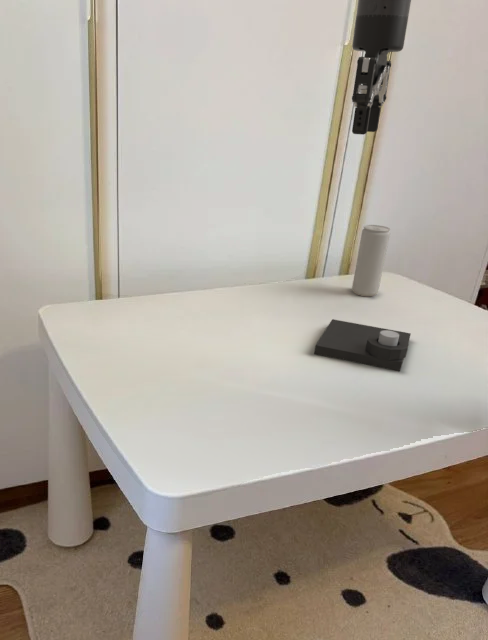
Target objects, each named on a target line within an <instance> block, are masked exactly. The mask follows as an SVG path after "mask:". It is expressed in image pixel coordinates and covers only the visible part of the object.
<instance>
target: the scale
mask: <svg viewBox="0 0 488 640" xmlns="http://www.w3.org/2000/svg"><path fill="white" fill-rule="evenodd" d="M383 330H389V331H394V332H396V333H398V334H399V339H398V344H397V346H386V345H382V344H380V343H378V340H379V335H380V332H381V331H383ZM410 339H411V333H410V332H405V331H401V330H400V331H399V330H394V329H390V328H389V329H388V328H383V327H378V326H373V325H367V324H361V323H356V322H350V321H344V320H339V319H334V318H333V319H331V321H330V322H329V323H328V325H327V327H326V328H325V330H324V331H323V333H322V334H321V336H320V337H319V339H318V341H317V342H316V343H315V346H314V353H313V354H314V355H317V356H322V357H327V358H332V359H337V360H340V361H341V360H342V361H347V362H351V363H357V364H362V365H367V366H372V367H375V368H382V369H387V370H392V371H397V372H401V369H402V367H403V363H404V359H406V357H407V353H408V350H409V349H408V348H409V345H410V343H409V342H410Z"/></svg>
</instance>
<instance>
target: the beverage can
mask: <svg viewBox="0 0 488 640" xmlns="http://www.w3.org/2000/svg"><path fill="white" fill-rule="evenodd" d="M390 230H391V229H390V227H387V226H385V225H377V224H365V225H363V229H362V230H361V235H360V241H359V245H358V246H359V247H358V251H357V258H356V264H355V268H354V273H353V281H352V285H351V289H352V292H353V293H354V294H355V295H357V296H362V297H375V296H376V295H377V294H378V293H379V292H380V291H379V290H380V285H381V280H382V275H383V271H384V266H385V261H386V256H387V252H388V246H389V241H390V237H391V236H390V235H391V232H390Z"/></svg>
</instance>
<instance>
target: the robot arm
mask: <svg viewBox="0 0 488 640" xmlns="http://www.w3.org/2000/svg"><path fill="white" fill-rule="evenodd" d="M411 3H412V0H357V7H356V13H355V14H356V15H355V22H354V30H353V37H352V45H351V47H352V50H353V51H357V52H364V56H358V58H357V61H356V72H355V78H354V84H353V90H352V96H351V100H352V103H353V107H354V115H353V122H352V129H351V132H352V134H354V135H362V136H363V135H366V134H367V133H368V132H369V133H376V132H377V131H378V129H379V122H380V118H381V117H380V116H381V111H382V107H383V105H384V103H386V100H387V94H388V87H389V85H388V84H389V81H390V80H389V79H390V74H391V67H392V61H391V60H388V54H389V53H399V52H401V51H402V50H403V49H404V46H405V39H406V33H407V27H408V21H409V15H410V9H411Z"/></svg>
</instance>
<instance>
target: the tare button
mask: <svg viewBox="0 0 488 640" xmlns="http://www.w3.org/2000/svg"><path fill="white" fill-rule="evenodd" d="M389 330H390V329H389ZM389 330H383V331H381V332H380V335H379V340H378V343H380V344H382V345H386V346H397V344H398V339H399V334H398V333H396V332H394V331H389Z"/></svg>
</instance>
